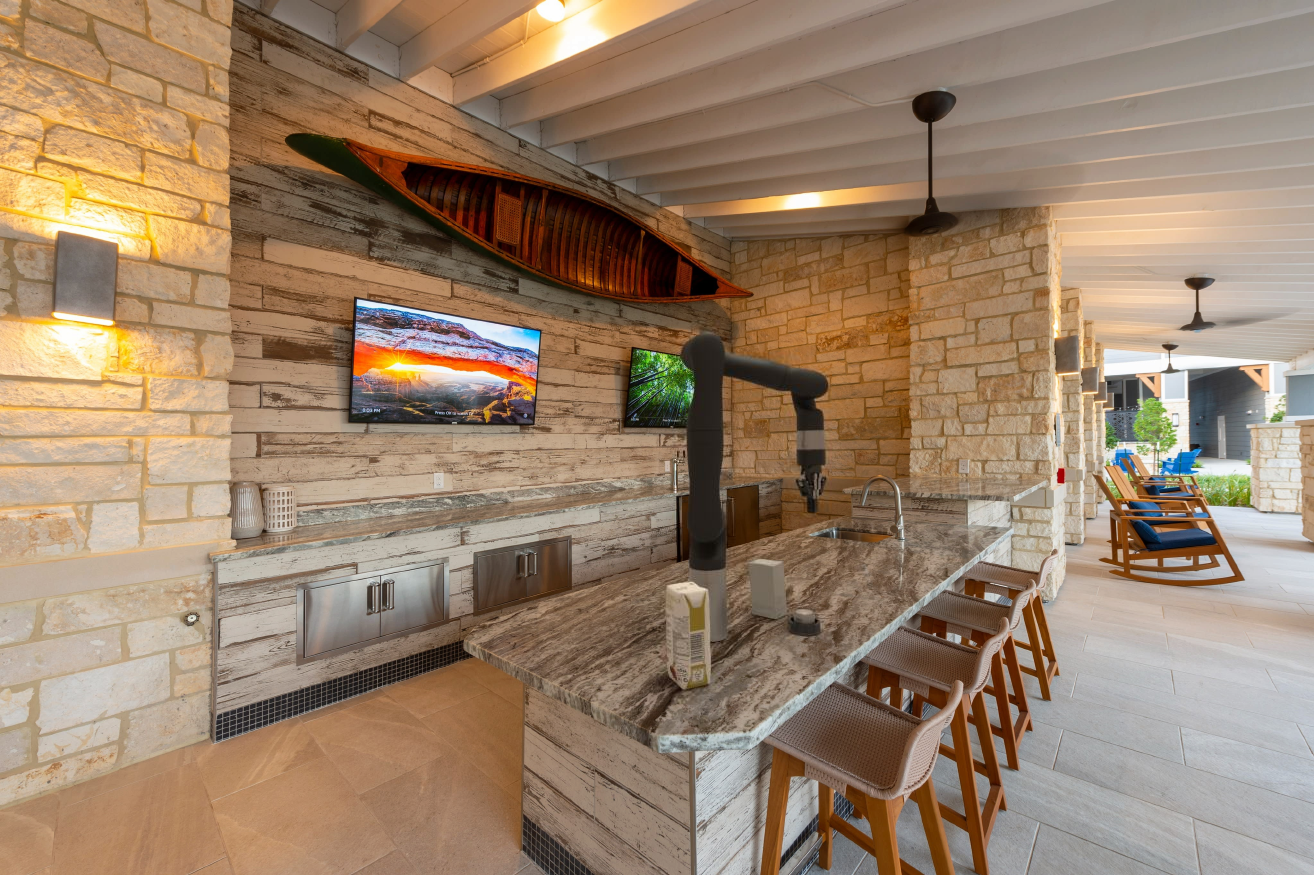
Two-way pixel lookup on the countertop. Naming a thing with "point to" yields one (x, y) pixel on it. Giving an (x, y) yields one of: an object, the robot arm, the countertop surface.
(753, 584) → the skincare box
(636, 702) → the countertop surface
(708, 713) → the countertop surface
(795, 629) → the black round dish
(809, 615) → the cap
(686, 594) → the juice carton
